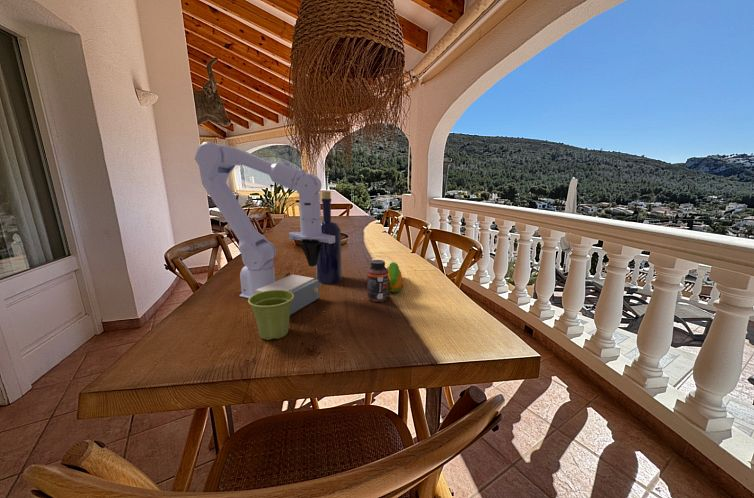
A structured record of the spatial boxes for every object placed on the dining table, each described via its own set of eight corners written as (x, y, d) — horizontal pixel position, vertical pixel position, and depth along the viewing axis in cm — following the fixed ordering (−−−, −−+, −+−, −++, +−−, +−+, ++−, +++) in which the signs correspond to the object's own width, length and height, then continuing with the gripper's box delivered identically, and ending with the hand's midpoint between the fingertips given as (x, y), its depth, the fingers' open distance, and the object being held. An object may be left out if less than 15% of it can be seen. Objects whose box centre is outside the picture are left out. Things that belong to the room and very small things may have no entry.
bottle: (320, 274, 106) (317, 190, 100) (345, 276, 105) (343, 190, 98) (311, 283, 98) (307, 191, 91) (338, 285, 96) (336, 191, 89)
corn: (380, 272, 84) (381, 255, 104) (378, 297, 86) (380, 275, 106) (405, 274, 84) (402, 256, 104) (403, 299, 86) (400, 277, 106)
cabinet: (257, 311, 77) (255, 289, 75) (293, 293, 89) (292, 274, 88) (281, 317, 74) (279, 294, 72) (315, 297, 86) (314, 278, 85)
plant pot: (273, 320, 72) (271, 286, 70) (304, 328, 68) (302, 293, 66) (242, 338, 64) (238, 301, 62) (275, 348, 60) (271, 309, 58)
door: (279, 318, 73) (278, 297, 71) (316, 297, 86) (315, 279, 84) (286, 319, 72) (284, 299, 71) (321, 298, 85) (321, 280, 84)
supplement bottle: (386, 303, 82) (386, 264, 79) (365, 302, 83) (365, 263, 80) (389, 295, 88) (389, 259, 85) (369, 294, 89) (369, 258, 86)
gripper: (280, 218, 81) (283, 265, 85) (324, 222, 76) (326, 272, 79) (296, 216, 88) (299, 260, 91) (338, 218, 82) (339, 265, 85)
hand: (312, 265), depth 85 cm, fingers closed
